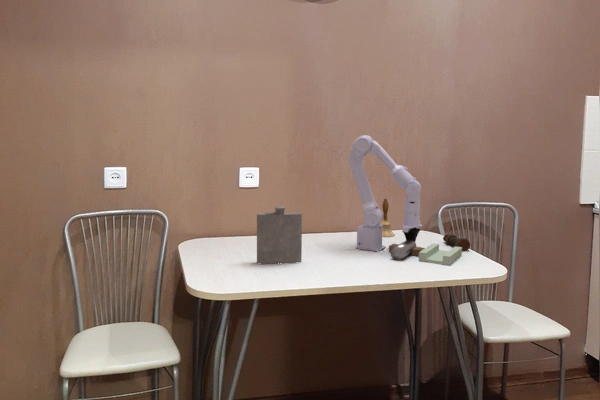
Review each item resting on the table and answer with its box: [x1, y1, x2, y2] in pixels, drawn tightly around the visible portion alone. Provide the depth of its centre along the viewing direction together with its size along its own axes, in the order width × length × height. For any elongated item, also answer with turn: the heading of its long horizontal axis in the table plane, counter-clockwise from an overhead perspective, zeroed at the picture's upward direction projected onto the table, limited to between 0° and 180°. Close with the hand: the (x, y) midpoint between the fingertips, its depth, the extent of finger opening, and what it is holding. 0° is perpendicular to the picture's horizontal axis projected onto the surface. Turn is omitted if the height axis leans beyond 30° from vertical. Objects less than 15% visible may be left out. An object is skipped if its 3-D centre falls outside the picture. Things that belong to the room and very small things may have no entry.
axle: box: [389, 239, 417, 261], centre depth 212 cm, size 14×5×5 cm, turn 150°
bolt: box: [442, 234, 471, 252], centre depth 228 cm, size 6×5×15 cm
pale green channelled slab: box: [418, 243, 463, 266], centre depth 210 cm, size 11×16×3 cm
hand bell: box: [380, 198, 395, 238], centre depth 246 cm, size 8×8×16 cm
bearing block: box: [388, 243, 426, 257], centre depth 216 cm, size 13×4×2 cm, turn 60°
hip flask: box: [256, 205, 303, 265], centre depth 200 cm, size 16×4×20 cm, turn 101°
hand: (410, 247), depth 220 cm, fingers closed
